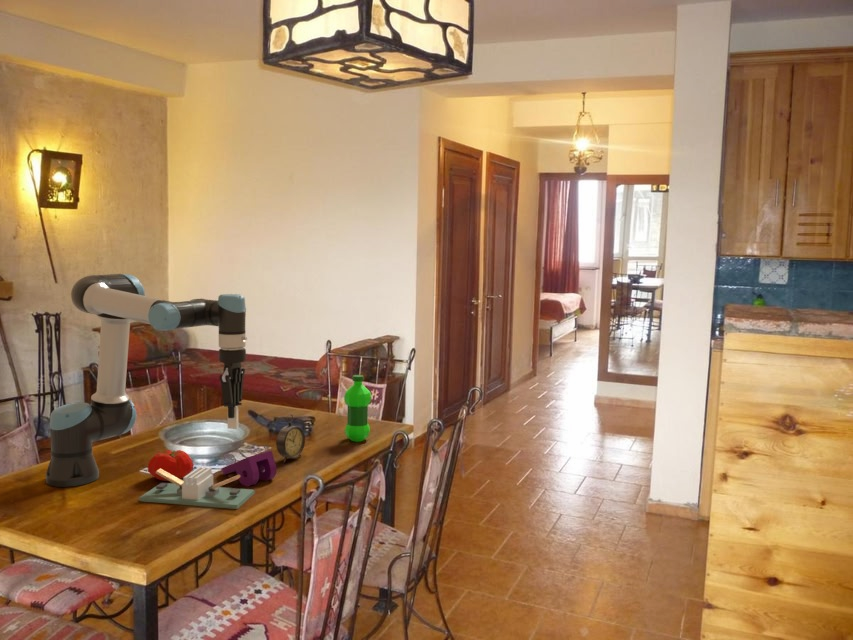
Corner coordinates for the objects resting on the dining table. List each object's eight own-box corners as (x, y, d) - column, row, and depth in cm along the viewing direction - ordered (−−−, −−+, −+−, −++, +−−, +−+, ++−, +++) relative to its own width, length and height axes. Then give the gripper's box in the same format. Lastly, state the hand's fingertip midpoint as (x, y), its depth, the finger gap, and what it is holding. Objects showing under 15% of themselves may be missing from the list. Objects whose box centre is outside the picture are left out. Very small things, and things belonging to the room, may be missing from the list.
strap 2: (209, 491, 217) (207, 487, 216) (213, 488, 219) (211, 484, 219) (237, 480, 215) (235, 476, 215) (241, 477, 217) (239, 473, 217)
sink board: (139, 501, 215) (138, 475, 214) (161, 486, 227) (161, 462, 226) (237, 509, 210) (237, 483, 209) (254, 493, 223) (254, 469, 222)
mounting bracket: (223, 495, 237) (255, 483, 227) (215, 470, 239) (247, 457, 228) (246, 488, 245) (279, 476, 234) (239, 463, 246) (271, 450, 235)
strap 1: (154, 473, 219) (156, 470, 218) (159, 471, 221) (160, 467, 221) (182, 489, 218) (184, 485, 218) (186, 486, 220) (188, 482, 220)
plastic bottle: (365, 444, 278) (366, 379, 275) (339, 441, 281) (340, 377, 278) (374, 437, 287) (375, 374, 285) (349, 435, 290) (350, 372, 287)
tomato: (195, 470, 243) (195, 444, 242) (192, 483, 231) (192, 456, 230) (151, 472, 240) (150, 446, 239) (146, 485, 228) (145, 458, 227)
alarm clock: (285, 464, 251) (285, 418, 250) (273, 462, 254) (273, 416, 252) (305, 456, 261) (306, 412, 259) (294, 454, 264) (294, 409, 262)
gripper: (235, 351, 205) (236, 434, 208) (253, 345, 218) (253, 423, 220) (210, 350, 206) (211, 433, 209) (229, 344, 219) (230, 421, 222)
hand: (233, 427), depth 215 cm, fingers closed
